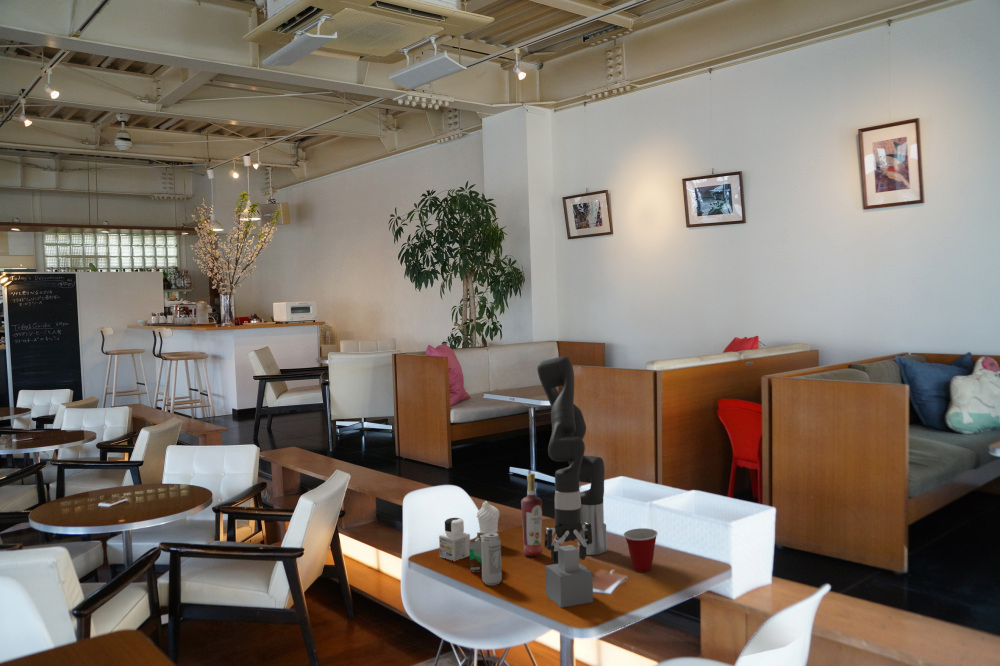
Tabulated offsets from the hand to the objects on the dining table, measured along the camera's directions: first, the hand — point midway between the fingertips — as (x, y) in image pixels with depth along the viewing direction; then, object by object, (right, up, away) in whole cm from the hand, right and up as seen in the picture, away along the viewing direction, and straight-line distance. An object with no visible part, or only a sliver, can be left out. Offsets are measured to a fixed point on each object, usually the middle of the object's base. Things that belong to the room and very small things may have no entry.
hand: (568, 561), depth 212 cm
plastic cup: (+26, -10, +24) cm, 36 cm away
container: (-36, -12, +41) cm, 56 cm away
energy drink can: (-22, -12, +15) cm, 29 cm away
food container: (-26, -11, +29) cm, 40 cm away
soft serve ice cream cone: (-24, -11, +53) cm, 59 cm away
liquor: (-9, -11, +41) cm, 43 cm away
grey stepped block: (0, -11, +1) cm, 11 cm away
